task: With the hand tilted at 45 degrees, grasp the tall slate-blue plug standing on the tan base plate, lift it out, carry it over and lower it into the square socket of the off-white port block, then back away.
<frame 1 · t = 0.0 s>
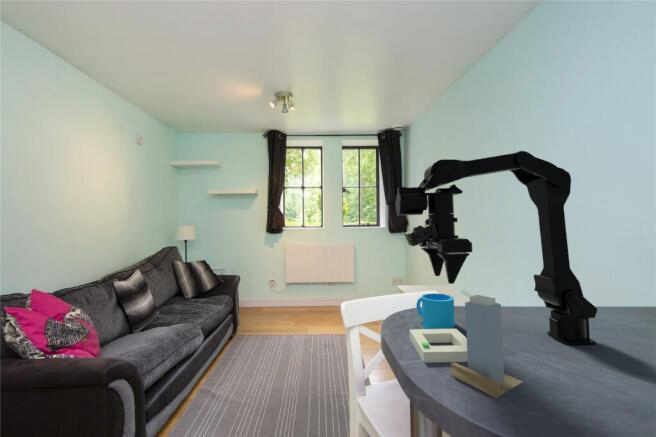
hand: (443, 279, 68), 15 cm above the table, tool pointing down, fingers open, 9 cm apart
mug: (433, 326, 79), on the table
tan base plate: (486, 383, 50), on the table
plug: (486, 378, 50), point 1 cm above the table, touching tan base plate
port block: (442, 353, 62), on the table
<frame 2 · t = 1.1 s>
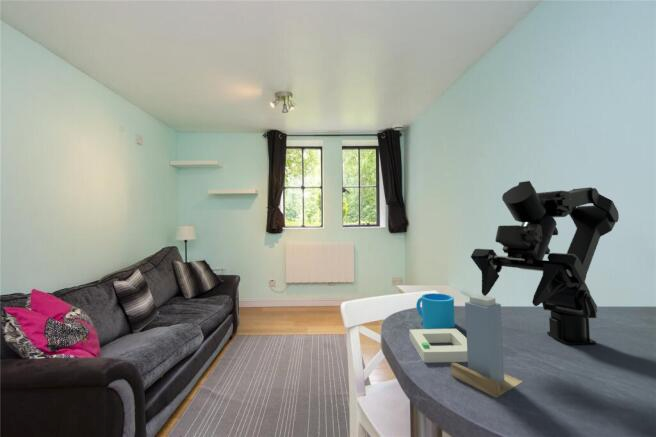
hand: (507, 299, 54), 13 cm above the table, tool tilted 45°, fingers open, 9 cm apart
nothing on the table moved.
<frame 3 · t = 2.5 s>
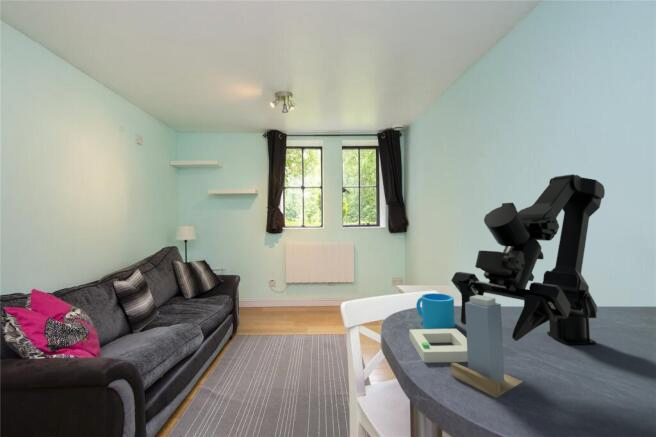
hand: (486, 330, 51), 9 cm above the table, tool tilted 45°, fingers open, 9 cm apart
nothing on the table moved.
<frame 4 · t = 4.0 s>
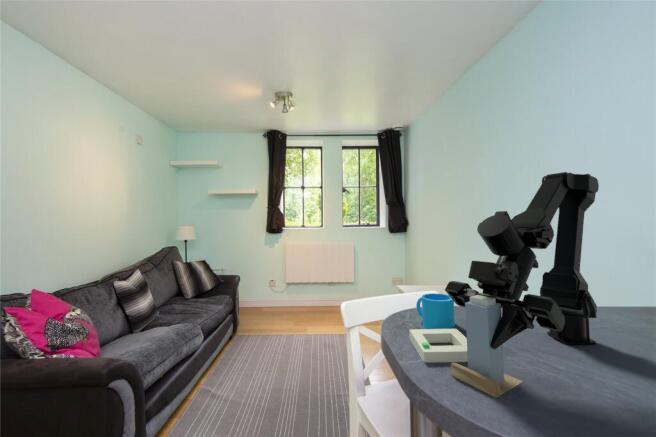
hand: (479, 343, 49), 7 cm above the table, tool tilted 45°, fingers closed on plug, 4 cm apart
plug: (486, 378, 50), point 1 cm above the table, touching gripper, tan base plate
everything else where it was.
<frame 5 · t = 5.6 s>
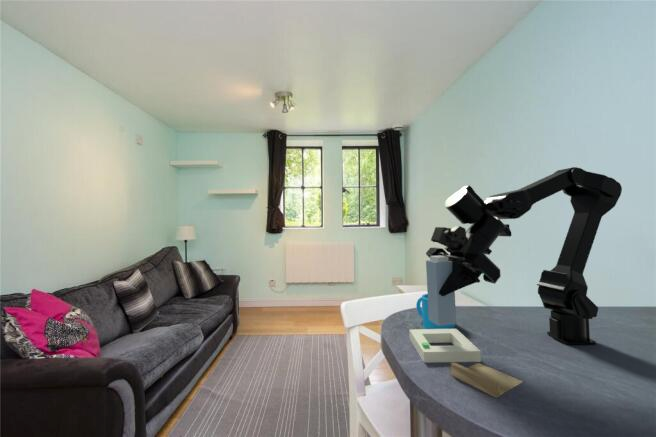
hand: (434, 292, 61), 13 cm above the table, tool tilted 45°, fingers closed on plug, 4 cm apart
plug: (442, 321, 62), point 7 cm above the table, touching gripper
everything else where it was.
when the fingers open (7 cm above the table, at t = 7.4 s): plug drops 1 cm, resting in port block.
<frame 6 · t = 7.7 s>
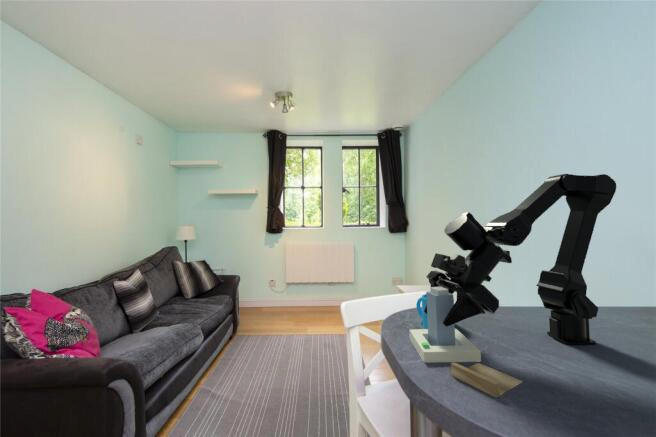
hand: (434, 318, 62), 8 cm above the table, tool tilted 45°, fingers open, 8 cm apart
plug: (441, 353, 62), resting in port block
everything else where it was.
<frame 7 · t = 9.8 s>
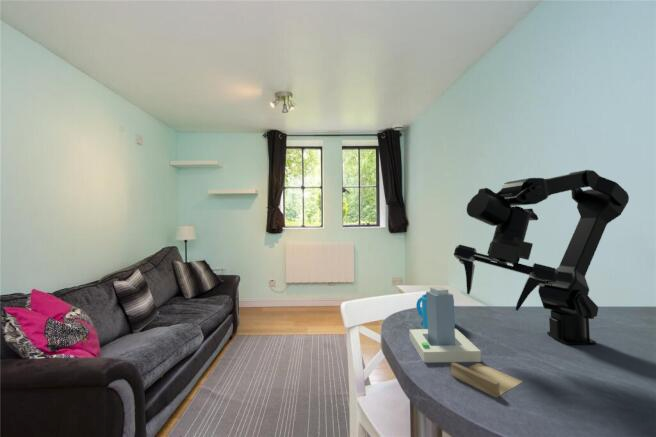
hand: (491, 302, 61), 11 cm above the table, tool tilted 20°, fingers open, 9 cm apart
nothing on the table moved.
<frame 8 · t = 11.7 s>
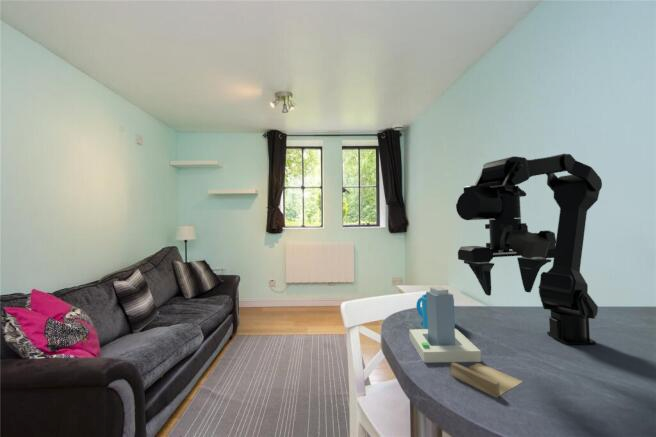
hand: (508, 293, 60), 13 cm above the table, tool pointing down, fingers open, 9 cm apart
nothing on the table moved.
at the end: plug 0.0 cm off-centre on the port block, point 0.0 cm above the port block's base; plug tilted 0°; the gripper is holding nothing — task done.
